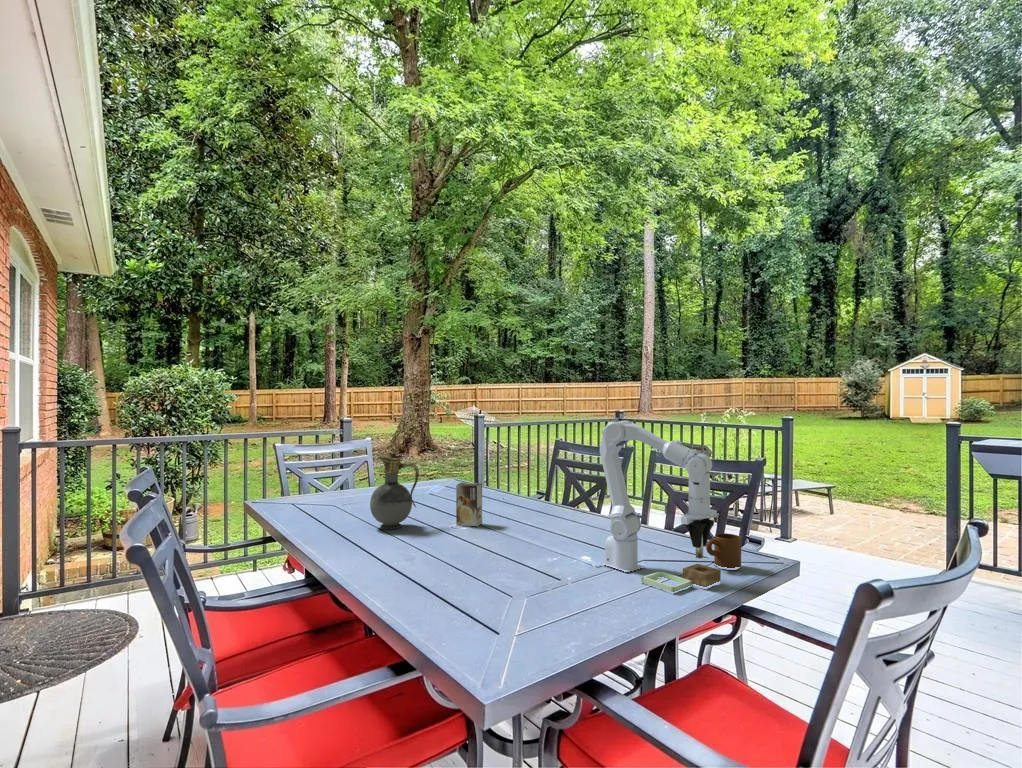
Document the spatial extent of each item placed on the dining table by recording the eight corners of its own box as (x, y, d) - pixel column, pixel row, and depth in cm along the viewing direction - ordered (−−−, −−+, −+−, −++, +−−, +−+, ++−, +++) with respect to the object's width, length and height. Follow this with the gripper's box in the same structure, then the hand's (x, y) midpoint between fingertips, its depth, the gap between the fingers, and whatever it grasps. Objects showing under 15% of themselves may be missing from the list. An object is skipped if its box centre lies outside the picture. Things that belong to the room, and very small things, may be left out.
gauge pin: (694, 557, 158) (693, 528, 158) (698, 555, 159) (698, 527, 159) (700, 558, 156) (700, 529, 156) (704, 557, 157) (704, 528, 157)
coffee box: (483, 523, 224) (483, 483, 225) (477, 527, 218) (477, 485, 218) (461, 521, 227) (461, 482, 227) (455, 525, 221) (455, 484, 221)
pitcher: (366, 526, 218) (367, 449, 218) (413, 521, 228) (414, 446, 228) (375, 533, 209) (375, 452, 209) (423, 527, 218) (424, 449, 219)
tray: (641, 583, 156) (641, 577, 156) (660, 577, 161) (660, 571, 161) (673, 594, 148) (673, 587, 148) (691, 587, 153) (691, 580, 153)
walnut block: (682, 582, 157) (682, 568, 157) (697, 577, 161) (697, 563, 161) (705, 590, 151) (705, 575, 151) (720, 584, 156) (720, 569, 156)
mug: (716, 574, 164) (716, 542, 164) (697, 567, 171) (697, 535, 171) (746, 569, 169) (746, 537, 169) (727, 562, 176) (727, 532, 176)
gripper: (696, 502, 150) (697, 554, 150) (726, 496, 159) (726, 545, 159) (674, 498, 155) (674, 548, 155) (704, 493, 164) (704, 539, 164)
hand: (699, 546), depth 157 cm, fingers closed on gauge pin, 2 cm apart
